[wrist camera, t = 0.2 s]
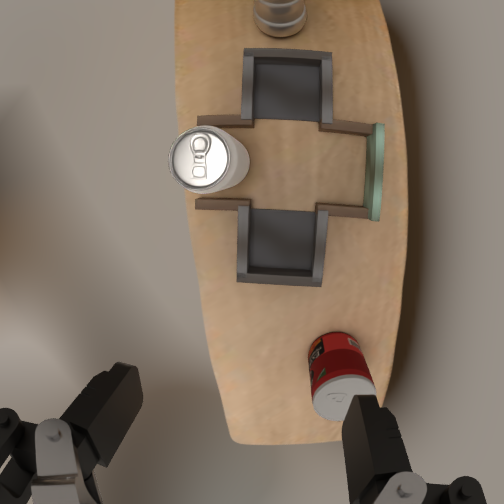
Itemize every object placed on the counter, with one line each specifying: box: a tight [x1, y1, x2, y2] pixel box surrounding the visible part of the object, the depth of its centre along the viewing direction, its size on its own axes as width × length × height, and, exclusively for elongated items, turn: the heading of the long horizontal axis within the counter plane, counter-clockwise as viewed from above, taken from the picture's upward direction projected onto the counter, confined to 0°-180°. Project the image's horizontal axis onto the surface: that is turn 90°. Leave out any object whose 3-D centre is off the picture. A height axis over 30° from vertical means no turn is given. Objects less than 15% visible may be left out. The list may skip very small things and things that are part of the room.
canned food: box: [308, 332, 376, 421], centre depth 36 cm, size 8×8×11 cm
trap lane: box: [195, 48, 384, 287], centre depth 33 cm, size 29×22×4 cm
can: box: [168, 126, 250, 194], centre depth 30 cm, size 6×6×12 cm
